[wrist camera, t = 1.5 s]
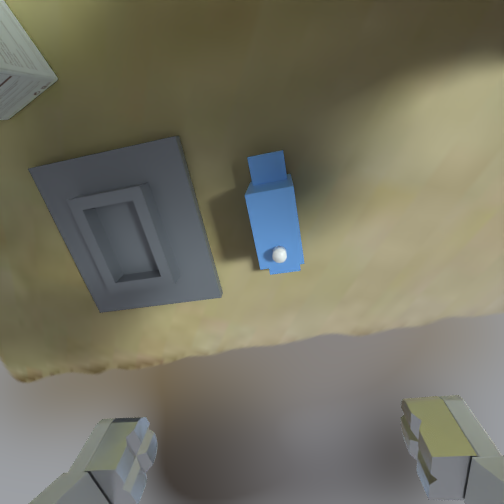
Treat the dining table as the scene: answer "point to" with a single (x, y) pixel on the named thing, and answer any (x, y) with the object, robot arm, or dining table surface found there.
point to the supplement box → (19, 66)
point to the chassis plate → (132, 225)
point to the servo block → (274, 214)
